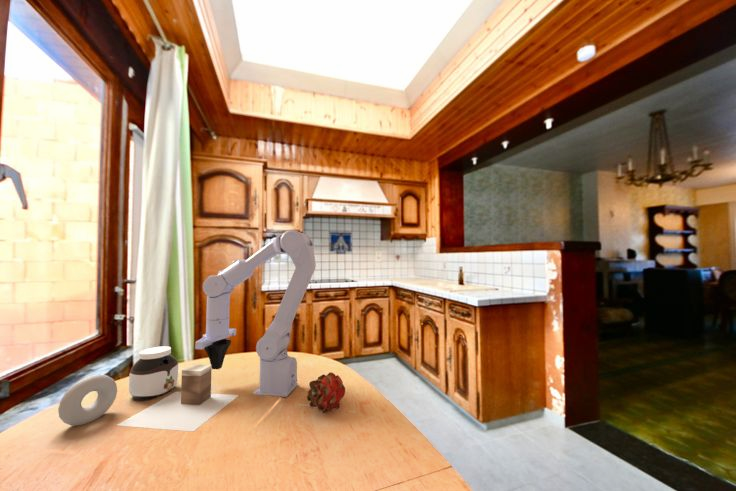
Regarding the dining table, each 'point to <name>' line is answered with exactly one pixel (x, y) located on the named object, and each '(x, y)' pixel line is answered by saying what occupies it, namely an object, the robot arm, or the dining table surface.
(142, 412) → the mat
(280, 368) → the robot arm
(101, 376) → the donut
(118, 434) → the dining table surface
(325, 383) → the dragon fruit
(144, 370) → the spread jar
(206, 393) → the walnut block
